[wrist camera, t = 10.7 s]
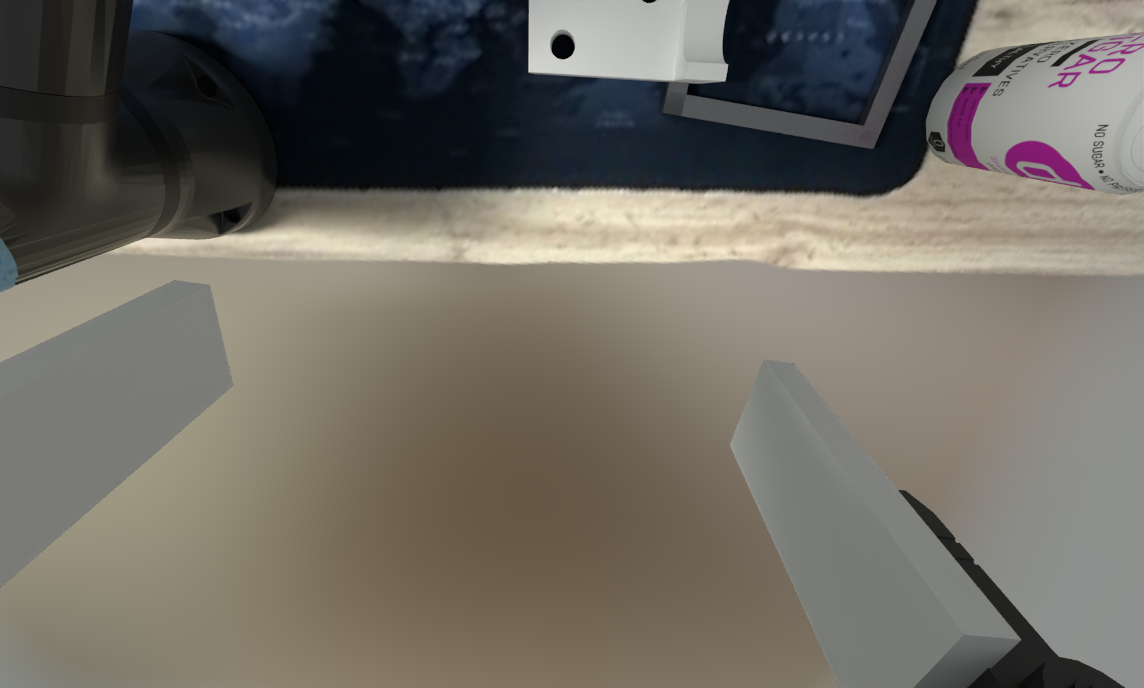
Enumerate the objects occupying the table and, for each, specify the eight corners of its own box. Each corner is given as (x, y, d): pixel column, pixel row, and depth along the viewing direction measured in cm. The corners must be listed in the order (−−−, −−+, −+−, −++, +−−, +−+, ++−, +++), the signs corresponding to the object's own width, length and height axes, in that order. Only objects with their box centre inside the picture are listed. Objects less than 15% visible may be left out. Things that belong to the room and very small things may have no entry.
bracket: (714, -30, 33) (751, -61, 27) (697, 83, 37) (725, 81, 30) (533, -42, 33) (524, -77, 26) (532, 74, 36) (523, 69, 30)
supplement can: (966, 181, 40) (1163, 225, 27) (897, 131, 38) (1072, 151, 25) (1053, 86, 36) (1328, 82, 23) (982, 25, 34) (1236, -17, 21)
